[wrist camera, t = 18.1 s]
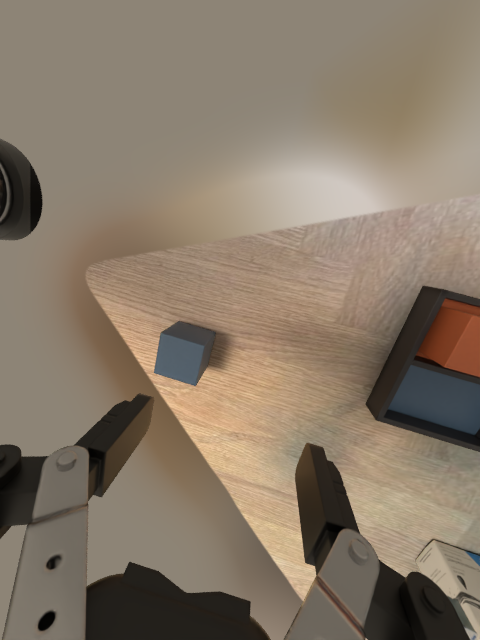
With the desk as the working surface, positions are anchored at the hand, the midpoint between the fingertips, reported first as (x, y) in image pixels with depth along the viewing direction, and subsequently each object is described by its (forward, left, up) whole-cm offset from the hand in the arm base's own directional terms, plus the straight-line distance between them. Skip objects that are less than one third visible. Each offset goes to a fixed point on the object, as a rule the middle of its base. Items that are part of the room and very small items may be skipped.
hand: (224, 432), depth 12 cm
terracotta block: (+18, +6, -15) cm, 24 cm away
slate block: (-6, -3, -15) cm, 17 cm away
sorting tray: (+21, +3, -15) cm, 26 cm away
